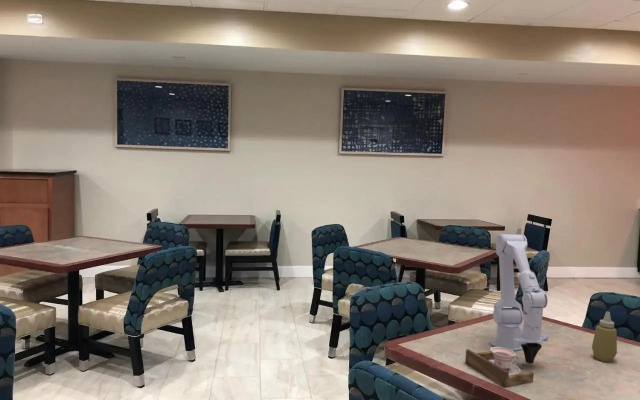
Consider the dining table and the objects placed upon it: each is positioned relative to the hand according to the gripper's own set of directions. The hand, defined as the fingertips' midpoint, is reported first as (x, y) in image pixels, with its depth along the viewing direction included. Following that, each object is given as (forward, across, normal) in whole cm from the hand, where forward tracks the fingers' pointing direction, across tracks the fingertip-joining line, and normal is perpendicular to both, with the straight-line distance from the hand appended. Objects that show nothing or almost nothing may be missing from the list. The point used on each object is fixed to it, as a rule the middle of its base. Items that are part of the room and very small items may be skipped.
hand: (529, 362), depth 163 cm
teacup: (+2, -10, +2) cm, 11 cm away
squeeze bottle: (+2, +33, -4) cm, 33 cm away
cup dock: (+1, -14, 0) cm, 14 cm away
